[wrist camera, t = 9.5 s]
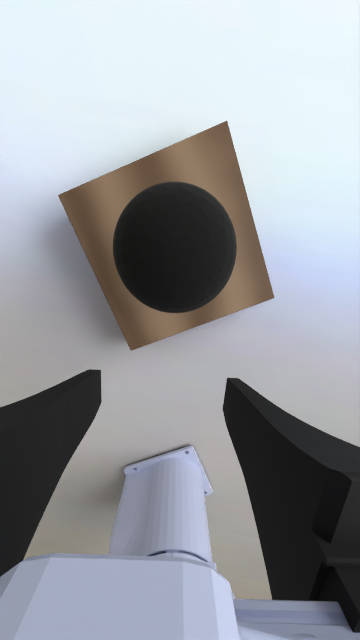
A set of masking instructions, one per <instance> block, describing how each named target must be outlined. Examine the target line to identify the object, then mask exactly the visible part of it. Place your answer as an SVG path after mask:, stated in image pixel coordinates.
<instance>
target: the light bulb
mask: <svg viewBox="0 0 360 640" xmlns="http://www.w3.org/2000/svg"><path fill="white" fill-rule="evenodd" d="M236 252H237V243H236V235H235V230H234V227H233V224H232V221H231V219H230V217H229V215H228V213H227V212H226V210H225V209H224V207H223V206H222V204H221V203H220V202H219V201H218V200H217V199H216V198H215V197H214V196H213V195H211V194H210V193H209V192H207V191H206V190H204V189H202V188H200V187H198V186H196V185H192V184H189V183H184V182H164V183H159V184H156V185H153V186H151V187H149V188H146V189H145V190H143V191H142V192H140V193H139V194H137V195H136V196H135V197H134V198H133V199H132V200H131V201H130V202H129V203H128V204H127V206H126V207H125V208H124V210H123V211H122V213H121V215H120V217H119V219H118V221H117V224H116V228H115V231H114V237H113V257H114V261H115V266H116V269H117V271H118V274H119V276H120V278H121V280H122V282H123V284H124V285H125V287H126V288H127V289H128V291H129V292H130V293H131V294H132V295H133V296H134V297H135V298H136V299H137V300H139V301H140V302H141V303H143V304H144V305H146V306H148V307H150V308H152V309H155V310H158V311H161V312H166V313H185V312H190V311H193V310H196V309H198V308H201V307H203V306H204V305H206V304H208V303H209V302H211V301H212V300H213V299H214V298H215V297H216V296H217V295H218V294H219V293H220V292H221V291H222V290H223V288H224V287H225V286H226V284H227V282H228V281H229V278H230V276H231V274H232V271H233V268H234V265H235V260H236Z"/></svg>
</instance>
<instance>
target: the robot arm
mask: <svg viewBox="0 0 360 640" xmlns="http://www.w3.org/2000/svg"><path fill="white" fill-rule="evenodd" d="M100 404H101V370H87V371H85V372H82V373H80V374H78V375H76V376H74V377H72V378H70V379H68V380H66V381H64V382H62V383H60V384H58V385H55V386H53V387H51V388H49V389H47V390H44V391H42V392H40V393H38V394H35V395H33V396H31V397H28V398H26V399H23V400H20V401H17V402H15V403H12V404H9V405H6V406H3V407H0V640H360V447H358V446H355V445H353V444H350V443H348V442H345V441H343V440H341V439H338V438H336V437H334V436H331V435H329V434H327V433H325V432H323V431H321V430H319V429H317V428H315V427H312V426H311V425H309V424H307V423H305V422H303V421H301V420H299V419H298V418H296V417H294V416H292V415H290V414H289V413H287V412H285V411H284V410H282V409H281V408H279V407H278V406H276V405H275V404H273V403H272V402H270V401H269V400H267V399H266V398H264V397H263V396H262V395H260V394H259V393H258V392H256V391H255V390H254V389H252V388H251V387H250V386H248V385H247V384H245V383H244V382H243V381H241V380H240V379H238V378H227V383H226V390H225V397H224V404H223V412H224V417H225V421H226V426H227V429H228V432H229V435H230V437H231V440H232V443H233V446H234V449H235V451H236V454H237V457H238V460H239V463H240V465H241V468H242V471H243V475H244V478H245V482H246V485H247V489H248V493H249V497H250V501H251V505H252V509H253V513H254V517H255V522H256V526H257V530H258V534H259V539H260V543H261V548H262V552H263V557H264V561H265V566H266V570H267V575H268V580H269V585H270V590H271V595H272V600H255V599H236V598H235V596H234V594H233V592H232V591H231V588H230V583H229V582H228V581H227V580H226V579H225V578H224V577H223V576H222V575H221V574H220V573H219V572H217V568H216V563H212V555H211V547H210V538H209V530H208V522H207V514H206V506H205V497H204V496H206V495H210V494H211V493H212V487H211V485H210V483H209V480H208V478H207V476H206V474H205V471H204V469H203V467H202V465H201V462H200V460H199V458H198V456H197V453H196V451H195V449H194V447H193V446H187V447H184V448H181V449H178V450H175V451H172V452H169V453H166V454H163V455H159V456H156V457H153V458H150V459H147V460H144V461H141V462H138V463H135V464H132V465H129V466H126V467H125V468H124V473H125V475H126V479H125V483H124V486H123V490H122V494H121V498H120V502H119V506H118V510H117V514H116V518H115V522H114V526H113V529H112V534H111V540H110V550H109V555H95V554H64V553H53V554H46V555H40V556H33V557H28V558H27V559H25V560H23V558H24V556H25V554H26V552H27V549H28V547H29V545H30V542H31V540H32V538H33V536H34V533H35V531H36V529H37V526H38V524H39V522H40V520H41V518H42V515H43V513H44V511H45V509H46V507H47V505H48V503H49V500H50V498H51V496H52V494H53V492H54V490H55V488H56V486H57V484H58V482H59V479H60V477H61V475H62V473H63V471H64V469H65V468H66V466H67V464H68V462H69V460H70V459H71V457H72V455H73V454H74V452H75V450H76V449H77V447H78V445H79V444H80V442H81V440H82V439H83V437H84V435H85V434H86V432H87V430H88V429H89V427H90V425H91V423H92V422H93V420H94V418H95V416H96V414H97V411H98V409H99V407H100ZM186 451H187V452H186Z"/></svg>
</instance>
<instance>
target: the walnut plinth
mask: <svg viewBox="0 0 360 640" xmlns="http://www.w3.org/2000/svg"><path fill="white" fill-rule="evenodd" d="M164 182H184V183H189V184H192V185H196V186H198V187H200V188H202V189H204V190H206V191H207V192H209V193H210V194H211V195H213V196H214V197H215V198H216V199H217V200H218V201H219V202H220V203H221V204H222V206H223V207H224V209H225V210H226V212H227V213H228V215H229V217H230V219H231V221H232V224H233V227H234V230H235V235H236V243H237V252H236V260H235V265H234V268H233V271H232V274H231V276H230V278H229V281H228V282H227V284H226V286H225V287H224V288H223V290H222V291H221V292H220V293H219V294H218V295H217V296H216V297H215V298H214V299H213V300H212V301H211V302H209V303H208V304H206V305H204V306H203V307H201V308H198V309H196V310H193V311H190V312H185V313H166V312H161V311H158V310H155V309H152V308H150V307H148V306H146V305H144V304H143V303H141V302H140V301H139V300H137V299H136V298H135V297H134V296H133V295H132V294H131V293H130V292H129V291H128V289H127V288H126V287H125V285H124V284H123V282H122V280H121V278H120V276H119V274H118V271H117V269H116V266H115V261H114V257H113V237H114V231H115V228H116V224H117V221H118V219H119V217H120V215H121V213H122V211H123V210H124V208H125V207H126V206H127V204H128V203H129V202H130V201H131V200H132V199H133V198H134V197H135V196H136V195H137V194H139V193H140V192H142V191H143V190H145V189H146V188H149V187H151V186H153V185H156V184H159V183H164ZM58 196H59V198H60V201H61V203H62V205H63V207H64V209H65V211H66V213H67V215H68V218H69V220H70V222H71V224H72V226H73V228H74V230H75V233H76V235H77V237H78V239H79V241H80V243H81V245H82V247H83V250H84V252H85V254H86V256H87V258H88V260H89V262H90V265H91V267H92V269H93V271H94V273H95V275H96V277H97V279H98V282H99V284H100V286H101V288H102V290H103V292H104V294H105V297H106V299H107V301H108V303H109V305H110V307H111V309H112V311H113V314H114V316H115V318H116V320H117V322H118V324H119V326H120V329H121V331H122V333H123V335H124V337H125V339H126V341H127V343H128V346H129V348H130V350H134V349H137V348H140V347H142V346H145V345H148V344H150V343H153V342H156V341H159V340H161V339H164V338H167V337H169V336H172V335H175V334H178V333H180V332H183V331H186V330H188V329H191V328H194V327H197V326H199V325H202V324H205V323H207V322H210V321H213V320H216V319H218V318H221V317H224V316H226V315H229V314H232V313H235V312H237V311H240V310H243V309H245V308H248V307H251V306H254V305H256V304H259V303H262V302H264V301H267V300H270V299H273V298H274V295H273V291H272V287H271V284H270V280H269V276H268V273H267V269H266V265H265V261H264V258H263V254H262V250H261V246H260V243H259V239H258V235H257V231H256V228H255V224H254V220H253V216H252V213H251V209H250V205H249V201H248V198H247V194H246V190H245V186H244V183H243V179H242V175H241V172H240V168H239V164H238V160H237V157H236V153H235V149H234V145H233V142H232V138H231V134H230V130H229V127H228V123H227V121H225V122H223V123H221V124H219V125H216V126H214V127H212V128H209V129H207V130H205V131H203V132H200V133H198V134H196V135H194V136H191V137H189V138H187V139H184V140H182V141H180V142H178V143H175V144H173V145H171V146H169V147H166V148H164V149H162V150H160V151H157V152H155V153H153V154H150V155H148V156H146V157H144V158H141V159H139V160H137V161H135V162H132V163H130V164H128V165H126V166H123V167H121V168H119V169H116V170H114V171H112V172H110V173H107V174H105V175H103V176H101V177H98V178H96V179H94V180H92V181H89V182H87V183H85V184H82V185H80V186H78V187H76V188H73V189H71V190H69V191H67V192H64V193H62V194H60V195H58Z"/></svg>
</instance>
